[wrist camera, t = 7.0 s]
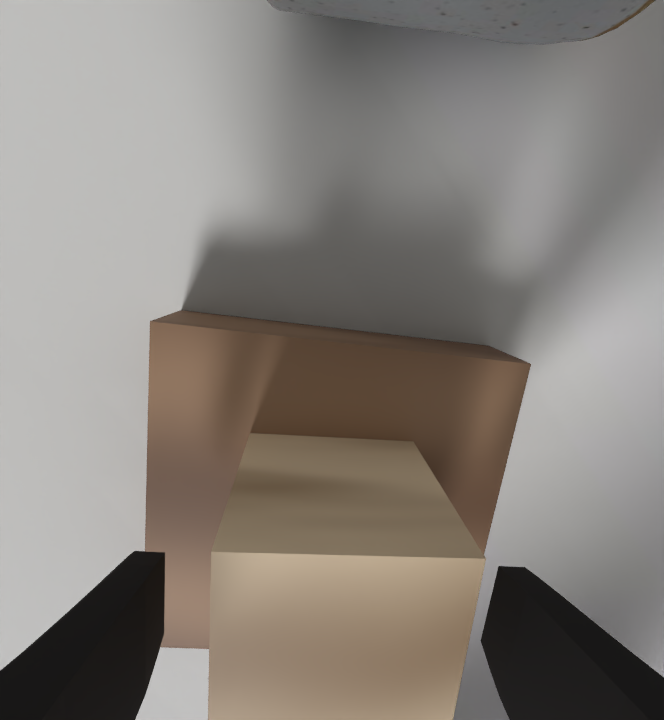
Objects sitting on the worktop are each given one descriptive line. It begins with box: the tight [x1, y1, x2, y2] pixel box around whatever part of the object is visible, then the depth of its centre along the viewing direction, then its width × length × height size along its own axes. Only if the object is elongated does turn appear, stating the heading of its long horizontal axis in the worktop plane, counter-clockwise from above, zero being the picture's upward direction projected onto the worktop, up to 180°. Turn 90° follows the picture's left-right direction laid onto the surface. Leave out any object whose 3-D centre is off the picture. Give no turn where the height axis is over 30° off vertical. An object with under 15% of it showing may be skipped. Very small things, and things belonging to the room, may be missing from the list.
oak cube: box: [208, 433, 486, 720], centre depth 9 cm, size 4×4×4 cm
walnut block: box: [145, 310, 531, 649], centre depth 13 cm, size 10×10×3 cm
